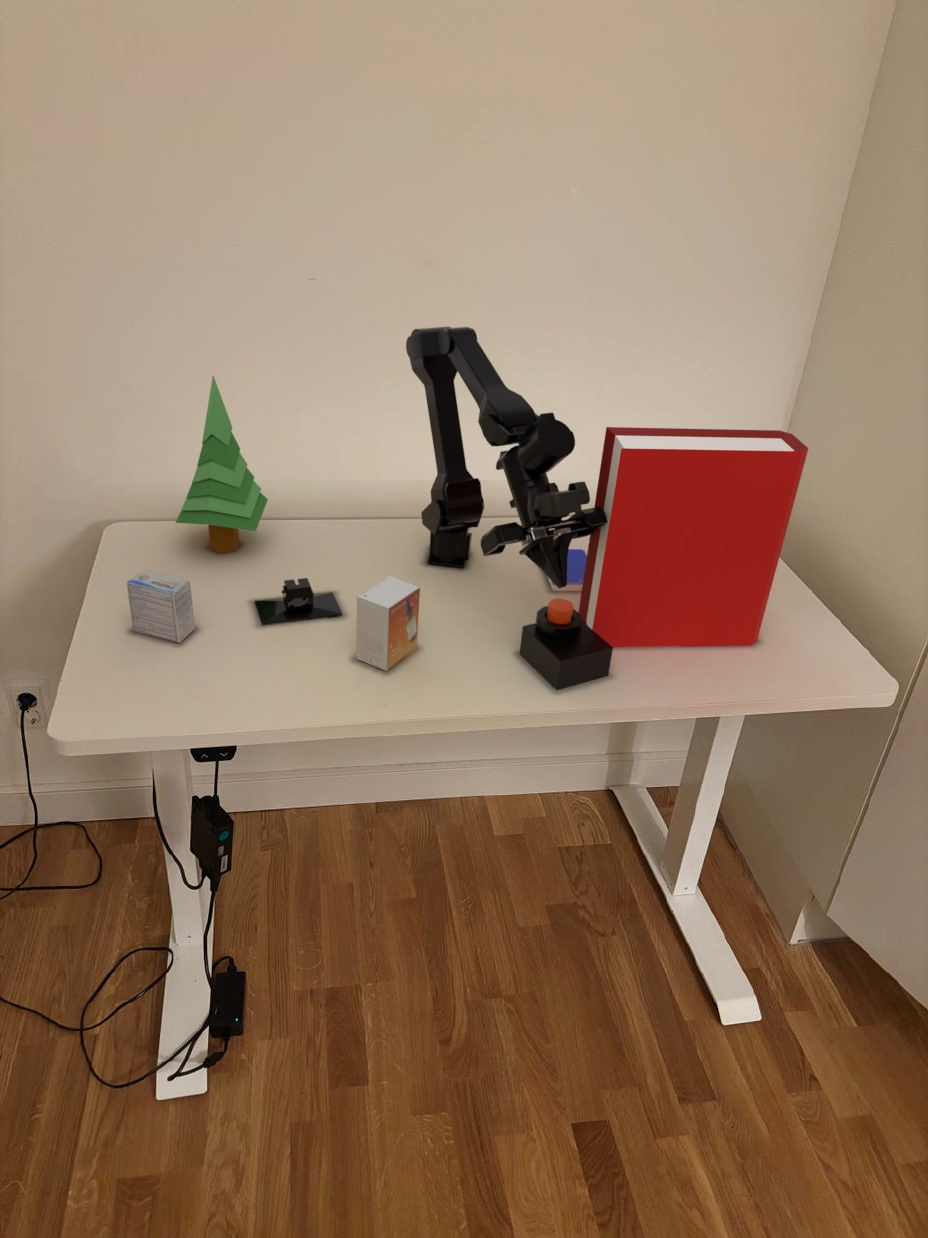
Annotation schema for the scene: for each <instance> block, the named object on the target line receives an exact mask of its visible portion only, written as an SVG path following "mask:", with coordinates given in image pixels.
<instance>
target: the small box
mask: <svg viewBox="0 0 928 1238" xmlns="http://www.w3.org/2000/svg"><path fill="white" fill-rule="evenodd" d="M420 596H421V587H420V586H418V585H415V584H412V583H410V582H408V581H405V580H402V579H400V578H397V577H394V576H391V575H388V576H387V577H386V578H385V579H383V580H381V581H380V582H379V583H377V584H376V585H374V586H373V587H371V588H369V589H367V590H366V591H365V592H363V593H361V594H359V595H357V596H356V629H355V630H356V633H355V635H356V640H355V641H356V644H355V648H356V649H355V659H356V660H358V661H361V662H363V663H366V664H367V665H368V664H369V665H370V666H373V667H376V668H378V669H379V670H380V669H381V670H383V671H385V672H388V671H389V670H390V669H391V668H392V667H394V666H395V665H396V664H398V663H399V662H400V661H402V660H403V659H404V658H406V657H407V656H408V655H410V654H411V653H412V652H414V651H416V649H418V631H419V613H420V598H421V597H420Z"/></svg>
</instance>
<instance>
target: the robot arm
mask: <svg viewBox="0 0 928 1238" xmlns="http://www.w3.org/2000/svg"><path fill="white" fill-rule="evenodd" d="M405 350H406V354H407V356H408V358H409V363H410V367H411V371H412V372H413V373H414V375H415V376H416V378H418V380H419V381H420V383H422V385H423V386H424V391H425V392H424V393H425V397H426V399H425V400H426V405H427V412H428V418H429V419H428V420H429V424H430V431H431V438H432V445H433V451H434V458H435V465H436V466H435V467H436V477H435V478H434V481H433V483H432V486H431V488H430V501H431V502H430V503H429V504H427V506H426V507H425V508H424V509H423V510H422V511H421V515H420V516H421V522H422V525H423V526H424V527H425V528H426V530H428V531H429V533H430V535H429V551H428V552H429V553H428V556H427V559H426V563H427V564H428V565H437V566H444V567H450V568H451V567H453V568H460V569H463V568H465V566H466V563H467V561H469V559H470V558H471V557H470V556H471V551H472V541H473V533H471V532H470V529H472V528H473V529H475V528H478V527H479V525H480V523H481V520H482V516H483V514H484V511H485V500H484V498H483V494H482V483H481V481H480V479H479V478H478V477H473V475H472V474H471V473H470V471H469V470H468V468H467V462H466V456H465V455H466V454H465V447H464V442H463V435H462V428H461V427H462V426H461V422H460V414H459V407H458V402H457V401H458V400H457V393H456V386H455V379H456V377H457V374H459V376H460V378H461V379H462V381H463V383H464V385H465V387H466V389H468V391H469V393H470V395H471V396H472V398H473V400H474V401H475V403H476V405H477V407H478V409H479V414H478V419H477V422H478V425H479V427H480V429H481V433H482V435H483V437H484V438H485V440H486V442H487V443H488V444H489V445H490V446H491V447H505V446H510V445H514V446H512V447H511V448H509V449H508V450H501V451H500V453H499V457H498V460H497V461H496V463H495V469H496V470H497V471H501V470H503V472H504V475H505V478H506V482H507V484H508V489H509V491H510V493H511V497H512V499H510V501H508V504H509V506H510V509H516V513H517V515H518V518H519V521H520V524H521V525H520V524H519V523H518V522H517V521H514V522H508V523H503V524H498V525H495V526H493V527H492V528H491V529H489V530H488V531H487V532H486V533H485V534H483V535H482V537H481V539H480V548H481V552H482V554H483V557H490V556H494V555H501V554H502V553H503V552H504V550H505V549H506V546H507V545H511V544H517V543H521V546H522V549H520V550H519V551H518V554H519V555H520V556H523V555H524V556H525V557H527V558H528V559H529V560H530V561H531V562H533V563H534V564H535V566H537V567H538V568H539V569H540V570H541V571H542V572H543V574H544V575H546V577H547V576H548V577H549V578H550V579H551V580H552V581H553V583H554V584H555V585H556V586H557V587H558V588H563V587H565V586H566V585H567V558H568V549H570V545H571V542H572V541H573V540H575V539H579V538H585V537H590V535H591V534H593V533H594V532H596V531H597V530H599V529H600V528H602V527H603V526H604V525H605V524H606V523H607V522H608V521H607V517H606V513H605V511H604V510H603V509H601V508H600V507H595V508H594V507H590V508H585V509H582V508H583V507H582V506H583V505H589V503H590V501H591V497H590V491H589V489H588V486H587V483H586V482H585V481H584V480H583V481H576V482H570V483H569V484H568V487H567V489H566V490H560V489H559V487H558V485H557V484H556V482H550V480H549V477H548V472H550V471H552V470H553V469H554V468H555V467H556V466H558V465H559V464H560V463H561V462H563V461H564V460H565V459H566V458H567V457H568V456H569V455H570V454H572V453H573V452H574V450H575V446H576V439H575V435H574V432H573V431H572V430H571V429H570V428H569V426H567V424H565V423H564V422H563V421H561V420H559V419H556V417H555V414H554V412H544V413H540V414H537V413H536V412H535V410H534V409H533V407H532V406H531V405H530V403H528V401H527V400H526V399H525V398H524V397H523V396H522V395H521V394H519V393H518V392H515V391H513V390H511V389H509V387H507V386H506V384H505V383H504V381H503V380H502V378H501V376H500V375H499V373H498V372H497V370H496V368H495V367H494V365H493V363H492V362H491V360H490V358H489V357H488V355H487V353H486V352H485V351H484V349H483V348H482V346H481V344H480V343H479V341H478V336H477V332H476V331H475V329H474V328H472V327H469V326H460V327H459V326H457V327H451V326H438V327H437V326H436V327H435V326H434V327H423V328H414V329H413V330H412V331H411V333H410V335H409V336H408V337H407V338H406V341H405ZM573 513H574V514H573ZM570 514H572V515H571V516H570V517H569V518H567V517H568V516H569V515H570ZM563 518H567V519H563ZM548 577H547V578H548Z"/></svg>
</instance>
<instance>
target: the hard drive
mask: <svg viewBox="0 0 928 1238" xmlns="http://www.w3.org/2000/svg"><path fill="white" fill-rule="evenodd" d="M586 559H587V553H586V551H585V549H582V548H581V549H579V548H575V549H574V548H572V549H571V548H569V549H568V558H567V585H566V586H565V587H563V588H558V587H557V586H556V585H555V584H554V583H553V581H552V580H551V579H550V578H549V577H548V576H547V575H546V577H547V580H548V582H549V584H550V586H551V589H552V591H554V592H582V586H583V579H584V573H585V566H586Z"/></svg>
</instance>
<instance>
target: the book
mask: <svg viewBox="0 0 928 1238" xmlns="http://www.w3.org/2000/svg"><path fill="white" fill-rule="evenodd" d="M808 452H809V447H808V446H807V445H806V444H804V443H803V442H802V441H801V440H800V439H799V438H798V437H796V436H795V435H794V434H793V433H790V432H786V431H782V430H780V429H779V430H777V429H776V430H771V429H723V428H722V429H721V428H676V427H674V428H671V427H625V426H623V427H622V426H621V427H620V426H606V427H605V434H604V439H603V447H602V453H601V461H600V466H599V467H600V468H599V474H598V480H597V487H596V494H595V500H594V507H593V508H595V507H600V508H601V509H603V510H604V511H605V513H606V517H607V521H608V522H607V523H606V524H605V525H604V526H603V527H602V528H600V529H599V530H597V531H596V532H594V533H593V534H591V535H589V541H588V546H587V553H586V555H587V559H586V566H585V573H584V579H583V586H582V591H580V592H581V593H580V601H579V607H578V611H577V612H578V613H579V614H581V617H582V622H584V623H585V624H586V625H587V626H588V627H589V628H591V629H592V630H593V631H594V632H595V633H597V634H598V635H599V636H600V637H601V638H602V639H604V640H605V641H606V642H607V643H608V644H609V645H611V646H612V647H613V648H640V647H641V648H645V647H646V648H648V647H649V648H650V647H651V648H653V647H732V646H733V647H738V646H740V647H741V646H742V647H743V646H744V647H745V646H747V647H748V646H753V645H754V644H756V643H757V642H758V639H759V634H760V631H761V627H762V624H763V619H764V616H765V612H766V608H767V605H768V601H769V597H770V593H771V591H772V586H773V582H774V579H775V575H776V572H777V568H778V564H779V559H780V555H781V552H782V549H783V545H784V541H785V537H786V533H787V530H788V527H789V524H790V523H789V522H790V519H791V516H792V512H793V508H794V504H795V500H796V496H797V493H798V489H799V485H800V482H801V478H802V476H803V470H804V467H805V463H806V459H807V456H808Z"/></svg>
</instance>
